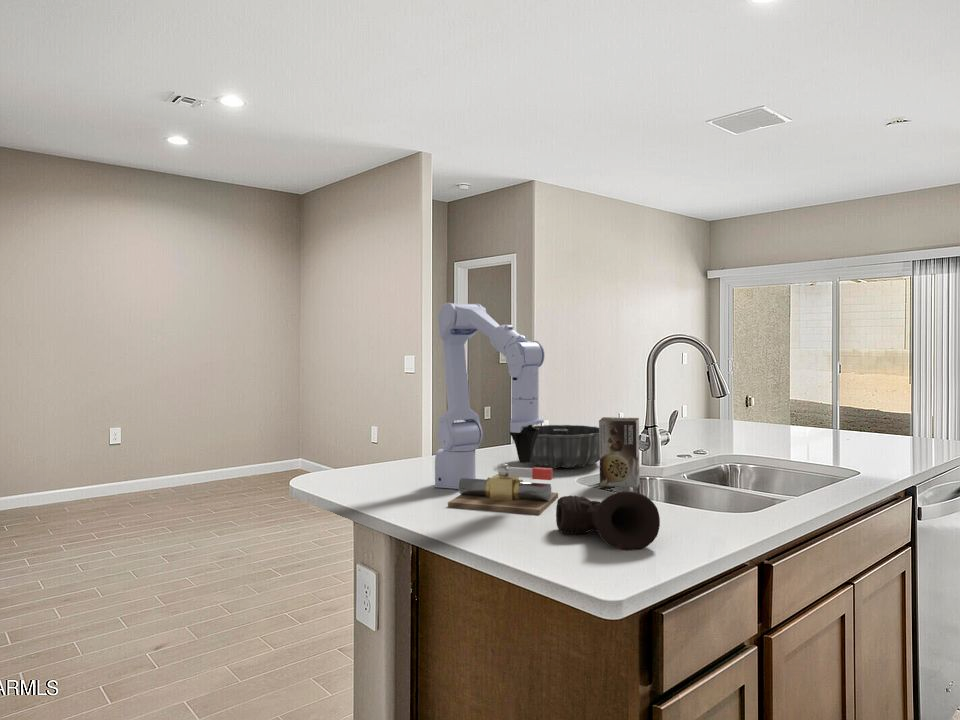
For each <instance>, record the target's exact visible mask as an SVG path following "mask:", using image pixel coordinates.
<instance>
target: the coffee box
mask: <svg viewBox="0 0 960 720" xmlns="http://www.w3.org/2000/svg"><path fill="white" fill-rule="evenodd" d="M639 419H640V418H639V417H613V416H612V417H609V416H608V417H602V418H600V419H599V420H598V428H599V451H600V460H599V486H600V487H616V488H617V487H618V488H635V489H637V488H638V487H639V485H640V483H641V482H640V421H639Z"/></svg>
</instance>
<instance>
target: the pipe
mask: <svg viewBox="0 0 960 720" xmlns="http://www.w3.org/2000/svg"><path fill="white" fill-rule="evenodd" d="M555 510H556V511H555V522H556V528H557V529H558V531H559V532H561V533H563V534H574V535H577V534H580V533H587V532H589V531H590V532H591V531H596V532H597V533H598V534H599V536H600V537H601V539H602V540H603V541H604V543H606V544H607V545H608V546H610V547H612V548H615V549H618V550H622V551H638V550H642V549H644V548H646V547H648V546H649V545H651V544H652V543H653V542H654V541H655V540H656V538H657V537H658V534H659V530H660V526H661V523H660V522H661V520H660V518H661V517H660V514H659V510H658V508H657V506H656V504H655V503H654V501H653V500H651V499H650V498H649V497H648V496H646V495H644V494H642V493H640V492H636V491H628V490H627V491H625V490H624V491H618V492H615V493H613V494H610V495H609V496H606V498H604V499H603V500H602V501H597V500H590V499H588V498H587V497H585V496H578V495H566V496H565V495H564V496H561V497H560V498H557V502H556V509H555Z"/></svg>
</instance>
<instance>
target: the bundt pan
mask: <svg viewBox="0 0 960 720" xmlns="http://www.w3.org/2000/svg"><path fill="white" fill-rule="evenodd" d="M532 428H540V432H539V434H538V436H537V438H536V441H535V444H534V449H533V453H532V458H531V462H530V463H529V464H530V465H532V466H534V467H542V468H551V467H552V468H553V467H554V468H555V469H559V468H560V467H562V468H566V469H571V468H579V469H580V468H583V467H586V466H591V465H593V464H595V463H598V462H600V451H599V426H589V425H581V424H579V425H577V424H576V425H574V424H572V425H571V424H542V425H532Z"/></svg>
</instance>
